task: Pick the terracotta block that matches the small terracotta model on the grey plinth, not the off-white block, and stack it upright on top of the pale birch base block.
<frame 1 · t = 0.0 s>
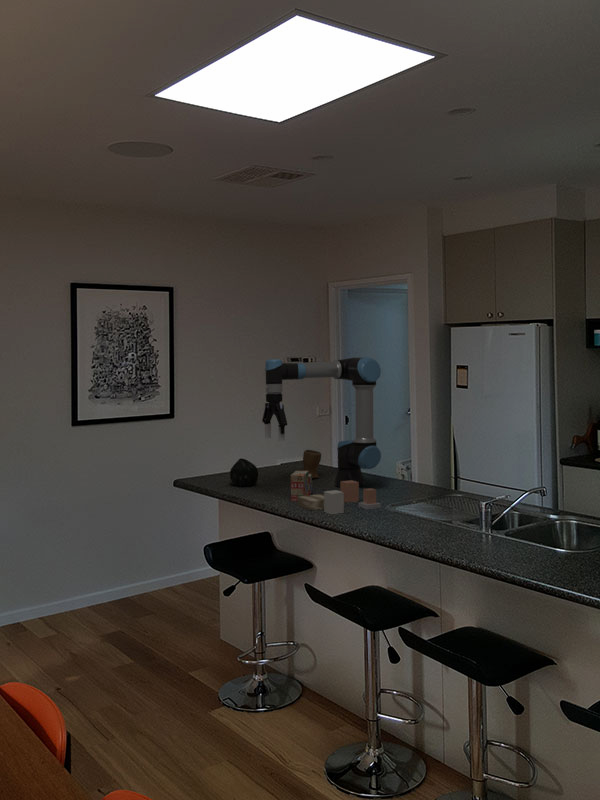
hand: (274, 439, 347), 28 cm above the worktop, tool pointing down, fingers open, 13 cm apart
stack of blocks: (302, 497, 356), on the worktop
terracotta block: (349, 501, 344), on the worktop
birch base block: (315, 506, 333), on the worktop
off-white block: (333, 513, 320), on the worktop
squash: (244, 485, 387), on the worktop
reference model: (369, 507, 330), on the worktop
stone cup: (309, 477, 409), on the worktop
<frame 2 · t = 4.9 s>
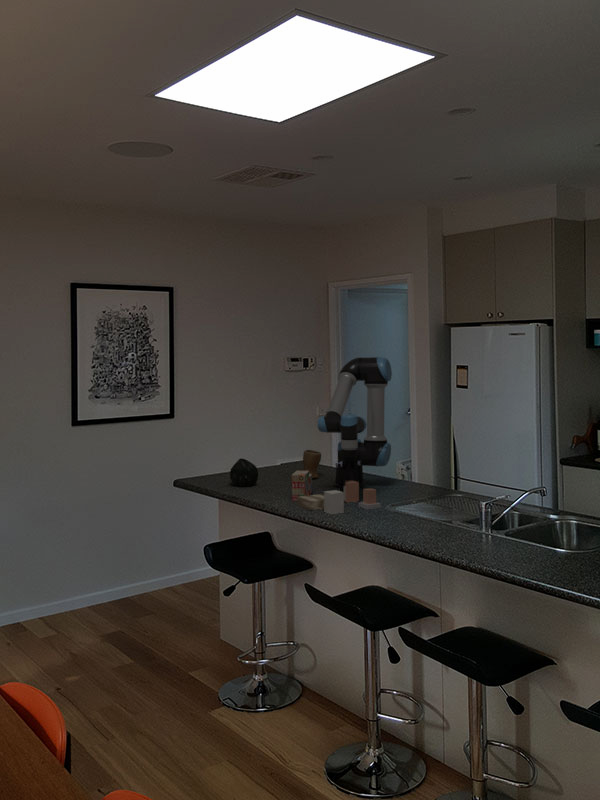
hand: (349, 499, 344), 1 cm above the worktop, tool pointing down, fingers closed on terracotta block, 6 cm apart
terracotta block: (349, 501, 344), on the worktop, touching gripper
when the fingers open (6 cm above the worktop, at t = 11.6 s): terracotta block drops 1 cm, resting on birch base block.
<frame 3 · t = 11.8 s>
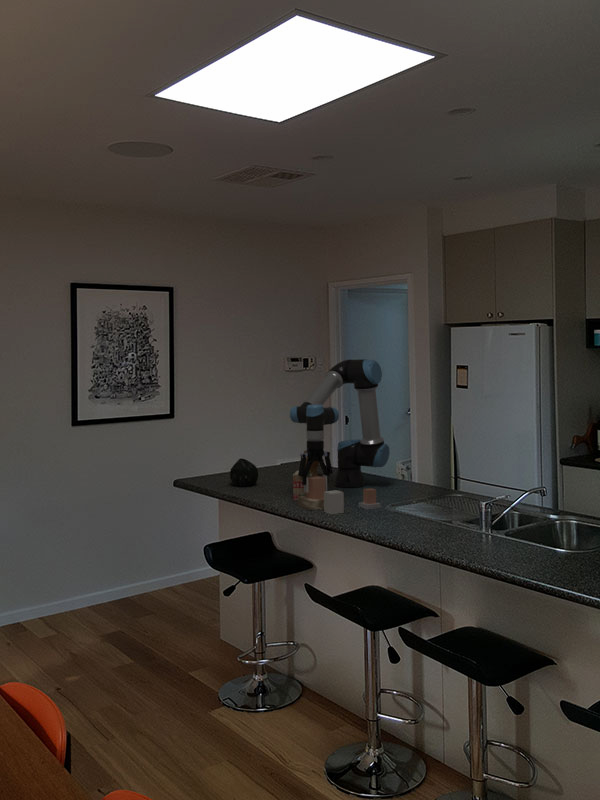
hand: (315, 491, 332), 7 cm above the worktop, tool pointing down, fingers open, 9 cm apart
terracotta block: (315, 497, 332), point 4 cm above the worktop, touching birch base block
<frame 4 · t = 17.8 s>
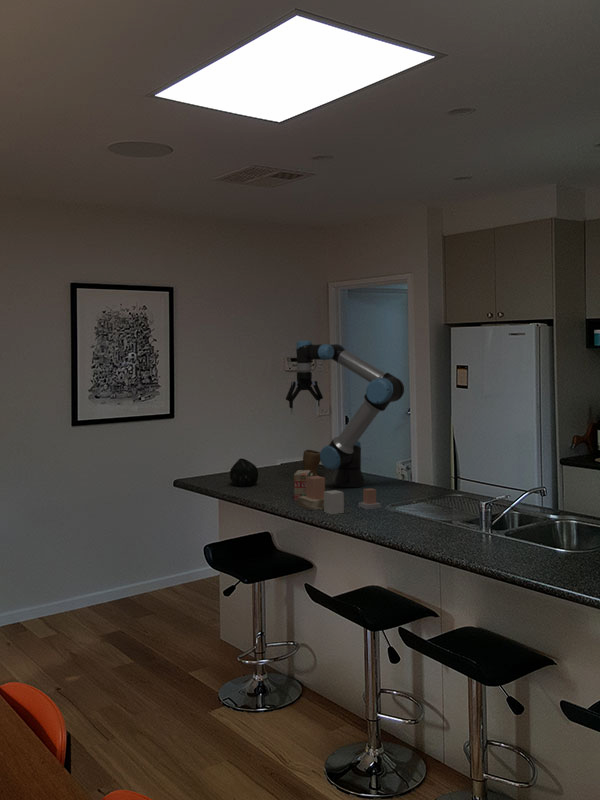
hand: (304, 413, 380), 37 cm above the worktop, tool pointing down, fingers open, 13 cm apart
at the end: terracotta block inside the target area on the birch base block (0.1 cm from its centre), point 4.0 cm above the birch base block's base; terracotta block tilted 0°; the gripper is holding nothing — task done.
